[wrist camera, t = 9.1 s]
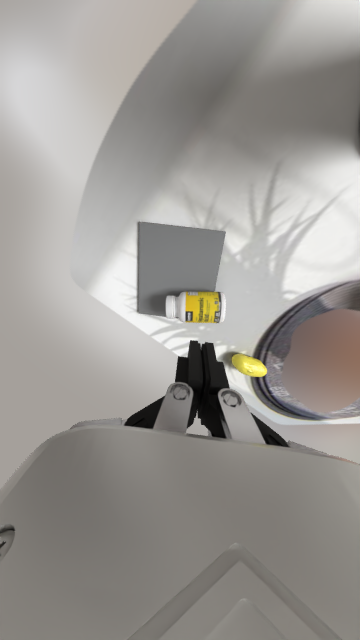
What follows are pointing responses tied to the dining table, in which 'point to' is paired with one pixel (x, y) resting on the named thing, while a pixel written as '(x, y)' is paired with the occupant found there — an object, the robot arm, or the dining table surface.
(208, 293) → the supplement bottle
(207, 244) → the charcoal mat
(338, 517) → the robot arm
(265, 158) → the dining table surface
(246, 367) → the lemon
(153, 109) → the dining table surface
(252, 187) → the dining table surface
